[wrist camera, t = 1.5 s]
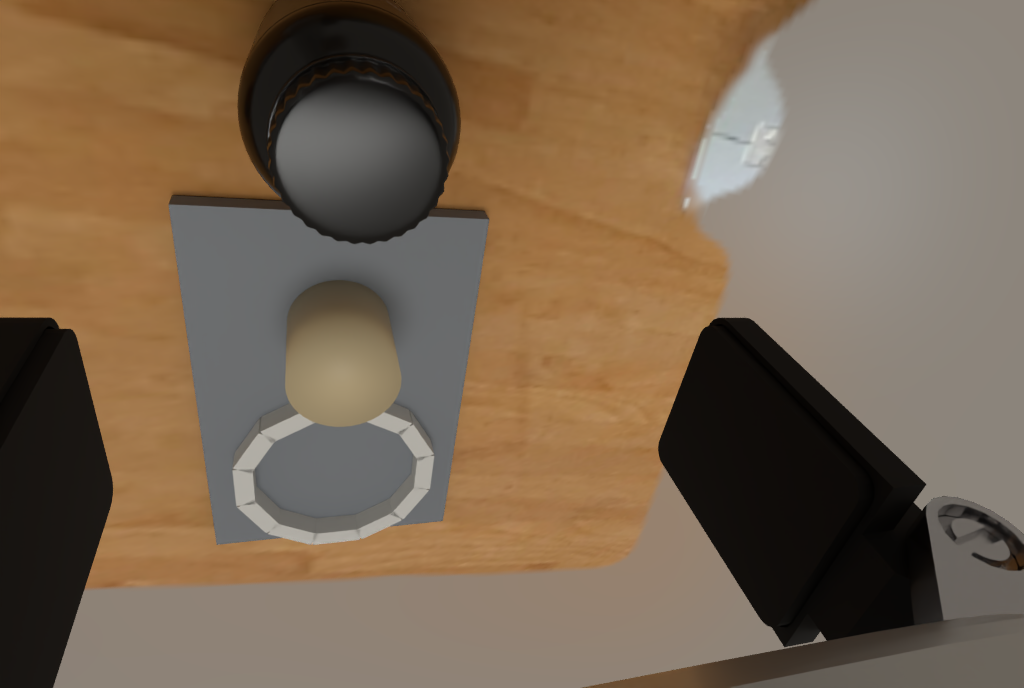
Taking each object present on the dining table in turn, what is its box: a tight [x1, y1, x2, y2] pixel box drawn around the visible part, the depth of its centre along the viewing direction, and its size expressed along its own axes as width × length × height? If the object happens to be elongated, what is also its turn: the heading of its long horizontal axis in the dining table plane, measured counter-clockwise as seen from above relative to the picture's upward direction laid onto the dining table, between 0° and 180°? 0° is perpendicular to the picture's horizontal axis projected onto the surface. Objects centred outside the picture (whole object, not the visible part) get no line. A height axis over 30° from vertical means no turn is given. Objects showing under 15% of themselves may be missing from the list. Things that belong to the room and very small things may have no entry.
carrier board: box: [169, 195, 489, 545], centre depth 33 cm, size 22×14×6 cm, turn 170°
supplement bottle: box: [238, 0, 461, 244], centre depth 21 cm, size 7×7×12 cm
